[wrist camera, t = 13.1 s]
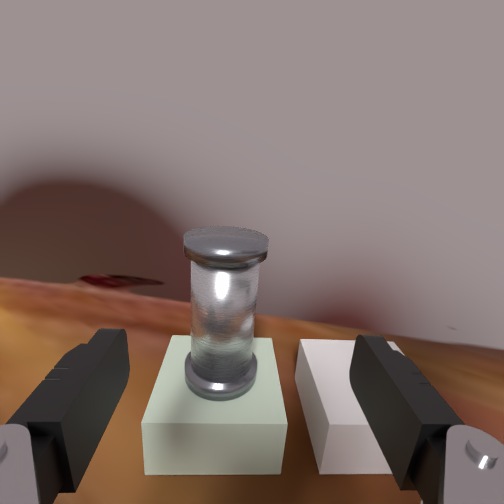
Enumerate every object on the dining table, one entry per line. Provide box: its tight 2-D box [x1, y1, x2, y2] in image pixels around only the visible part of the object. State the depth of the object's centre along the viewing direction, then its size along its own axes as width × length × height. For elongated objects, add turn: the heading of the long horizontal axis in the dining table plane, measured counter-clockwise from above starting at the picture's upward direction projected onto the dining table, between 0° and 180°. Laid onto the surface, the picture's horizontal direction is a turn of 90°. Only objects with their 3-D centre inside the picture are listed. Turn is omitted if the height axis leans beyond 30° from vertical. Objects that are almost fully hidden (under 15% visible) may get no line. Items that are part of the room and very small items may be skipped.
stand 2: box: [295, 339, 405, 474], centre depth 26 cm, size 10×10×5 cm
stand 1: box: [141, 335, 288, 475], centre depth 25 cm, size 10×10×5 cm
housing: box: [184, 226, 269, 401], centre depth 23 cm, size 6×6×12 cm
